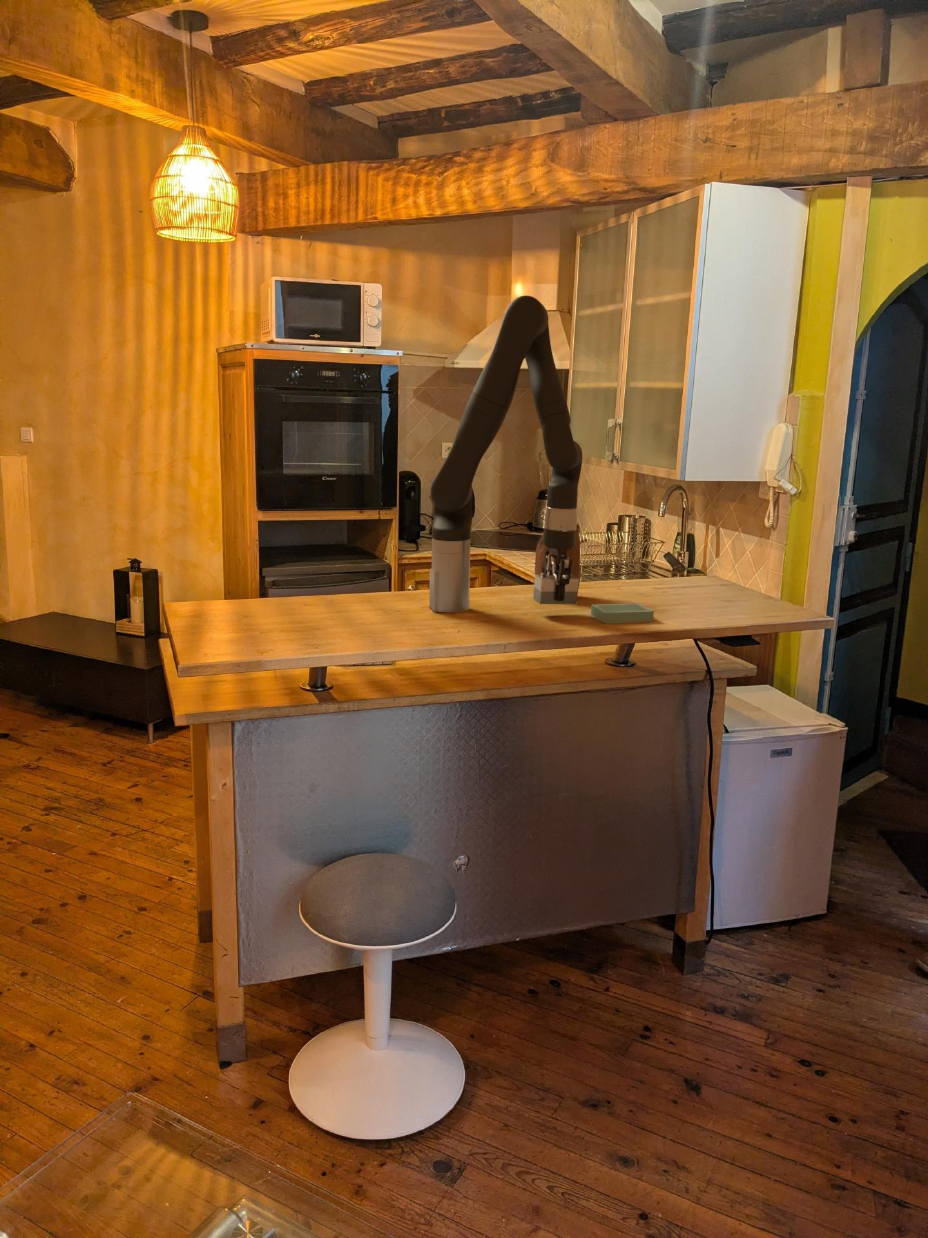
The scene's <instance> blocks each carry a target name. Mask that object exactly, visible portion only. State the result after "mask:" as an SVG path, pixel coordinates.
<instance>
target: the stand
mask: <svg viewBox="0 0 928 1238" xmlns="http://www.w3.org/2000/svg"><path fill="white" fill-rule="evenodd" d="M654 613H655V611H654V610H652V609H650V608H648V607H646V606H644V605H643V604H641V603H638V602H637V603H610V604H609V603H606V604H605V603H604V604H602V603H601V604H591V607H590V616H592V617H593V618H595V619H596V620H598V619H599V620H600V622H601V621H602V622H603V624H604V623H606V624H626V623H627V624H628V623H632V624H633V623H634V624H635V623H653V622H654ZM599 620H598V621H599ZM602 622H601V623H602Z"/></svg>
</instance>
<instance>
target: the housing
mask: <svg viewBox="0 0 928 1238" xmlns="http://www.w3.org/2000/svg"><path fill="white" fill-rule="evenodd" d="M562 579H563V576H562ZM578 582H579V583H580V580H579V579H578V578H576V577H574V576H573V575H572V574H570V582H569V584H567V585H565V596H564V601H556V600H555V599H554V598H555V585H556V584H555V576H554V575H549V574H546V573H541V574H535V573H534V586H533V587H534V588H533V600H534V601H535V602H537V603H538V604H540V605H578V595H579V589H578Z"/></svg>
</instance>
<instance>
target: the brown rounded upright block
mask: <svg viewBox="0 0 928 1238" xmlns="http://www.w3.org/2000/svg"><path fill="white" fill-rule="evenodd" d="M580 531H581V526H580V524H578V523H577V527H576V540H575V547H574V548H572V549H568V550H567V555H568V558H569V560H572V566H571V574H572V575H573V576H574V577H576V578H578V579H579V582H578V590H579V589H580V588H579V587H580V580H581V579H580V578H581V568H580V566H581V565H580V564H581V537H580V536H581V535H580ZM543 535H544V532H543V534H542V535H541V536H540V539H539V542H538V544H537V546H536V548H535V550H536V551H535V557H534V558H535V559H534V561H535V563H534V575H535V574H541V573H545V551H546V550H549V551H550V548H547V547H545V546H544V545H543ZM550 567H551V566H550Z"/></svg>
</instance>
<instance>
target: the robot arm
mask: <svg viewBox="0 0 928 1238" xmlns="http://www.w3.org/2000/svg"><path fill="white" fill-rule="evenodd" d="M489 355H490V356H489V358H488V359H487V361H486V363H485V365H484V367H483V369H482V371H481V373H480V374H479V377H478V380H477V381H476V383H475V385H474V388H473V390H472V392H471V394H470V397H469V398H468V400H467V404H466V406H465V409H464V411H463V414H462V417H461V419H460V421H459V425H458V428H457V430H456V434H455V437H454V441H453V443H452V446H451V448H450V450H449V453H448V455H447V457H446V458H445V460H444V462H443V464H442V466H441V467H440V469H439V470H438V472H437V474H436V476H435V477H434V479H433V481H432V482H431V485H430V497H431V501H432V503H433V519H432V520H433V521H432V527H431V568H430V569H429V606H428V607H429V608H430V609H431V610H432V612H434V613H437V612H439V613H447V614H448V613H449V614H450V613H453V614H454V613H463V612H467V611H469V610H470V587H471V586H470V584H471V583H470V582H471V581H470V580H471V579H470V578H471V532H472V524H473V501H474V499H473V496H474V495H473V489H474V488H473V481H474V478H475V476H476V473H477V471H478V467H479V465H480V463H481V461H482V458H483V457H484V455H485V454H486V452H487V451H488V449H489V448H490V446H491V444H492V443H493V441H494V440H495V438H496V436H497V434H498V433H499V431H500V430H501V427H502V425H503V423H504V421H505V419H506V416H507V414H508V412H509V409H511V404H512V402H513V399H514V395H515V392H516V388H517V385H518V379H519V376H520V375H519V374H520V370H521V367H522V365H523V363H524V360H525V362H526V366H527V370H528V371H527V372H528V375H529V381H530V386H531V393H532V399H533V401H534V402H533V403H534V406H535V410H536V414H537V418H538V420H539V424H540V427H541V431H542V439H543V447H544V450H545V451H544V452H545V456H546V458H547V461H548V464H549V466H550V467H551V468H552V469H551V470H552V471H551V480H550V483H549V484H548V487H547V494H546V508H545V513H544V521H543V522H544V524H543V533H544V535H543V534H542V535H543V545H544V546H545V547H547V548H550V551H549V550H546V551H545V573H546V574H549V575H554V576H555V584H556V585H555V598H554V599H555V600H556V601H564V596H565V585H567V584H569V582H570V574H571V566H572V560H569V558H568V555H567V550H568V549H572V548H574V547H575V540H576V527H577V524H578V514H577V513H578V512H577V509H578V508H577V506H578V493H579V492H578V487H579V482H580V477H581V471H582V466H583V450H582V447H581V446H580V444H579V443H578V442H577V441H575V440H574V437H573V434H572V430H571V422H572V421H571V414H570V411H569V408H568V403H567V400H566V396H565V392H564V389H563V386H562V383H561V381H560V376H559V373H558V370H557V367H556V363H555V360H554V359H555V358H554V355H553V349H552V344H551V337H550V326H549V314H548V309H546V307H545V306H544V304H542V303H541V301H540V300H539V299H537V298H535V297H534V296H532V295H521V296H517V297H516V298H515V299H513V300H512V301H510V302H509V304H508V306H507V307H506V309H505V312H504V315H503V318H502V322H501V325H500V328H499V331H498V333H497V338H496V340H495V343H494V346H493V349H492V351H491V353H490V354H489ZM550 566H551V567H550ZM562 576H563V579H562Z"/></svg>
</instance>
